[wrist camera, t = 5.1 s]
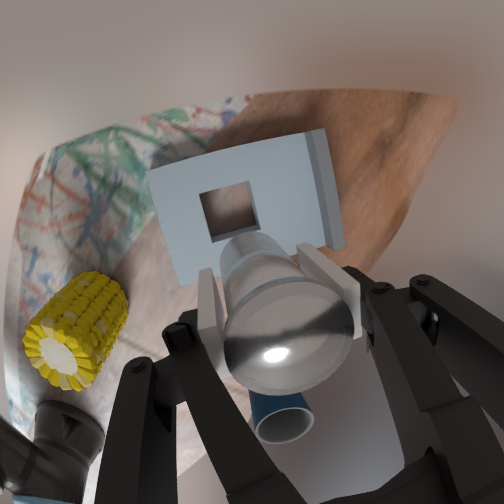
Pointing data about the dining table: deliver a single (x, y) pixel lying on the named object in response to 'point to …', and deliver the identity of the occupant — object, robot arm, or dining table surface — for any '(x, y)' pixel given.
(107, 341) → the food
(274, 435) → the cup
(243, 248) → the silver metal cylinder
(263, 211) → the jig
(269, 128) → the dining table surface
